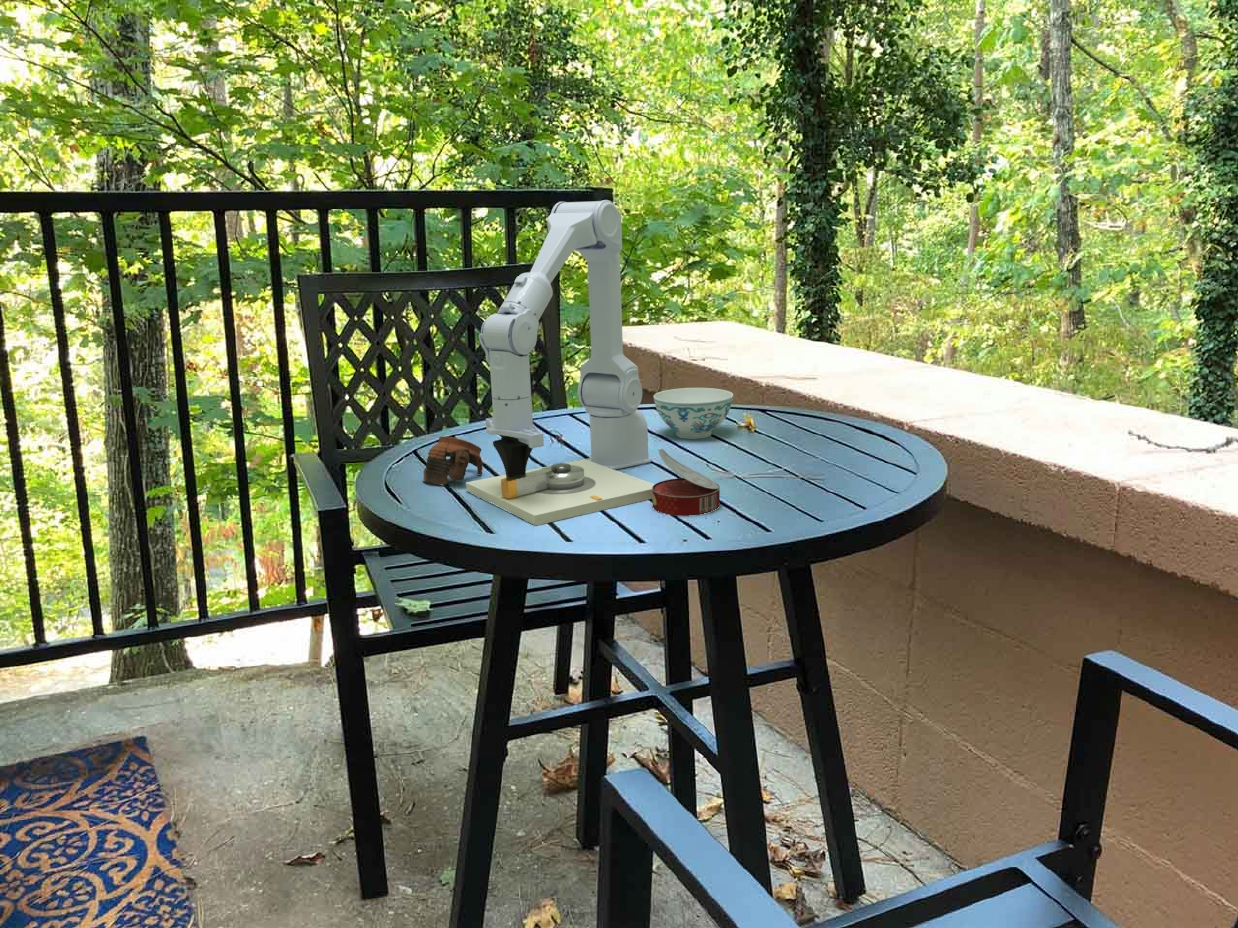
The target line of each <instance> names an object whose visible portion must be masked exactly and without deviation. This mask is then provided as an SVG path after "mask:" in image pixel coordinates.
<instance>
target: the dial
mask: <svg viewBox="0 0 1238 928" xmlns="http://www.w3.org/2000/svg"><path fill="white" fill-rule="evenodd" d="M566 463H567V462H561V463H560V462H559V463H554V464H552V465H548V466H549V467H547V466H544V467H545V468H542V467H541V468H542V469H540V470H537V471H532V472H528V473H526V474H521V475H516V476H512V477H508V478H504V479H501V488H502V496H503V497H506V498H513V497H517V496H521V495H524V494H528V493H532V492H536V491H540V490H544V489H551V490H565V489H572V488H577V487H580V486H582V485H583V484H584V469H583V468H582V467H579V466H574V465H570V464H566Z"/></svg>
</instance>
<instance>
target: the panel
mask: <svg viewBox="0 0 1238 928" xmlns="http://www.w3.org/2000/svg"><path fill="white" fill-rule="evenodd" d="M585 459H586V458H584V459H579V460H573V461H568V462H565V463H566V464H570V465H574V466H579V467H582V468H583V469H584V484H583V485H582V486H580V487H577V488H572V489H565V490H551V489H544V490H540V491H536V492H532V493H528V494H524V495H521V496H517V497H513V498H506V497H503V496H502V488H501V479H504V478H506V474H502V475H498V476H492V477H486V478H482V479H477V480H473V481H472V480H471V481H467V482H465V488H466V490H467V491H469V492H470V493H473V494H474V495H476V496H478V497H480V498H482V499H484V500H486V501H488V502H492V503H494V504H495V505H498V506H499V507H501V508H503V509H505V510H507V511H509V512H511V513H513V514H514V515H516V516H518V517H520V518H522V519H524V520H526V521H527V522H526V521H525V522H526V523H528V522H529V523H528V524H530V523H531V524H530V525H532V524H533V526H540V525H544V524H548V523H552V522H553V521H554V522H557V521H561V520H566V519H570V518H574V517H579V516H583V515H584V516H585V515H587V514H591V513H596V512H601V511H605V510H609V509H614V508H617V507H621V506H626V505H631V504H634V503H639V502H640V503H641V502H643V501H647V500H653V494H652V487H653V486H654V485H655V484H656V483H653V482H650V481H646V480H644V479H641V478H638V477H635V476H632V475H630V474H627V473H625V472H621V471H619V470H617V469H615V470H613V469H610V468H608V467H605V466H602V465H599V464H596V463H594V462H591V461H588V460H585ZM549 466H550V465H548V466H543V467H538V468H533V469H528V470H527V469H526V473H528V472H532V471H537V470H540V469H542V468H545V467H549ZM466 490H465V491H466ZM470 493H469V494H470ZM474 495H473V496H474ZM476 496H475V497H476ZM478 497H477V498H478ZM480 498H479V499H480ZM482 499H481V500H482ZM484 500H483V501H484ZM486 501H485V502H486ZM488 502H487V503H488ZM514 515H513V516H514ZM516 516H515V517H516ZM518 517H517V518H518ZM520 518H519V519H520ZM522 519H521V520H522ZM524 520H523V521H524Z"/></svg>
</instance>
